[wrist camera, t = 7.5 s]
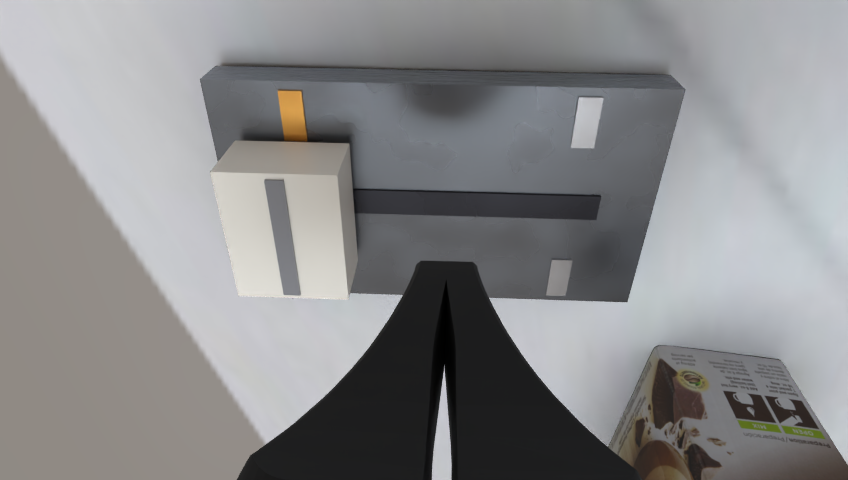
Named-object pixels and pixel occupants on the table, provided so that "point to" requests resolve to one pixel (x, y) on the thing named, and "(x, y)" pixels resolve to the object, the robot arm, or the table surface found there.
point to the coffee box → (722, 421)
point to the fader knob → (288, 218)
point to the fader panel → (475, 167)
